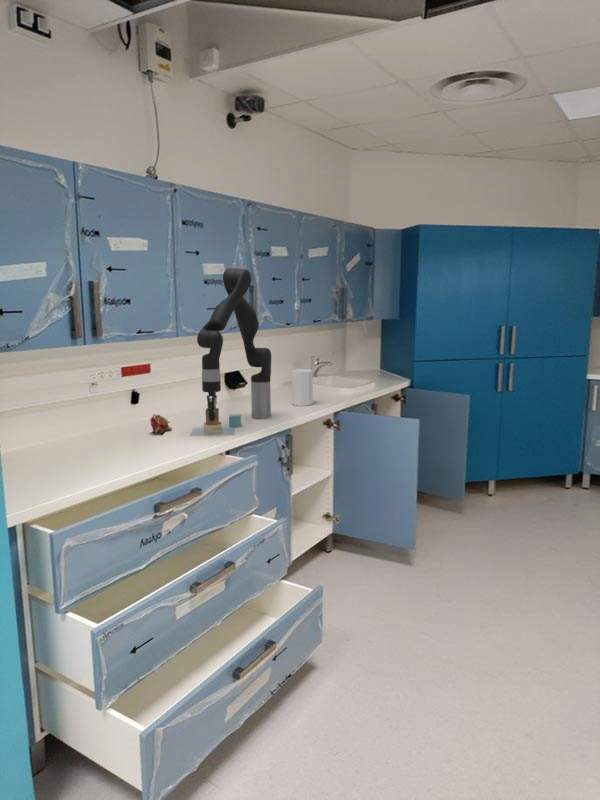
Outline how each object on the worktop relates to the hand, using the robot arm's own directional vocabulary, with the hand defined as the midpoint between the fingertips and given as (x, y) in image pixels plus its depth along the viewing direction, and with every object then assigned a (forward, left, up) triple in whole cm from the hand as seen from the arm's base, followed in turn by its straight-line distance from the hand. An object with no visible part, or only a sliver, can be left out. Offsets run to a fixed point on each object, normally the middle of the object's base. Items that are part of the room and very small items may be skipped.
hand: (212, 418), depth 239 cm
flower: (-7, -22, -7) cm, 24 cm away
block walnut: (0, 0, -2) cm, 2 cm away
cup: (-69, +44, -7) cm, 82 cm away
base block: (0, 0, -6) cm, 6 cm away
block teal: (-12, +9, -7) cm, 17 cm away
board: (-2, 0, -7) cm, 7 cm away
